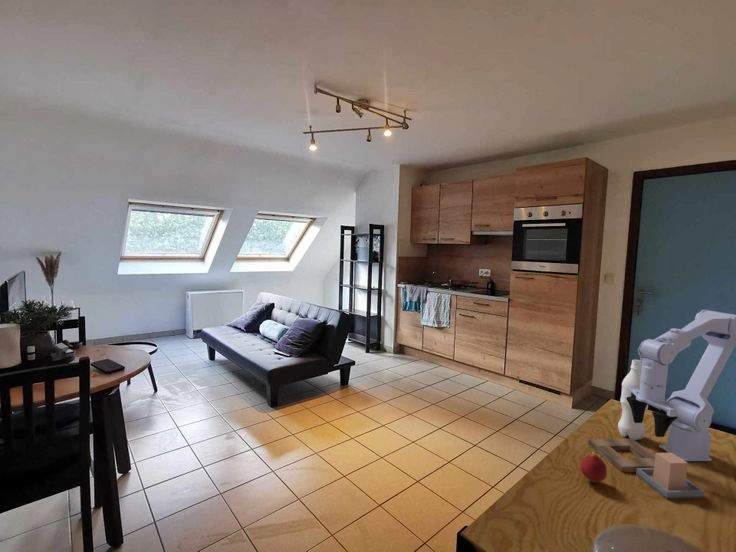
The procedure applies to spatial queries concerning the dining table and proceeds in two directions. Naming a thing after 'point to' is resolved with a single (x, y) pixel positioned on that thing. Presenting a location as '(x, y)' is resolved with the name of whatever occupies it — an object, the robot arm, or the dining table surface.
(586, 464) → the red pomegranate
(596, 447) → the board
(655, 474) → the block
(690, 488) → the tray
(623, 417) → the water bottle
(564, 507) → the dining table surface
